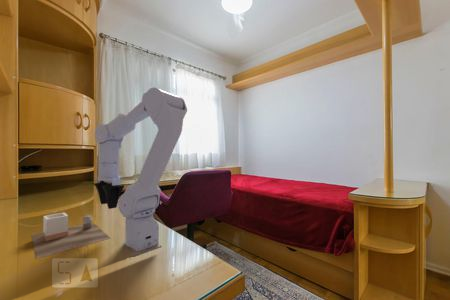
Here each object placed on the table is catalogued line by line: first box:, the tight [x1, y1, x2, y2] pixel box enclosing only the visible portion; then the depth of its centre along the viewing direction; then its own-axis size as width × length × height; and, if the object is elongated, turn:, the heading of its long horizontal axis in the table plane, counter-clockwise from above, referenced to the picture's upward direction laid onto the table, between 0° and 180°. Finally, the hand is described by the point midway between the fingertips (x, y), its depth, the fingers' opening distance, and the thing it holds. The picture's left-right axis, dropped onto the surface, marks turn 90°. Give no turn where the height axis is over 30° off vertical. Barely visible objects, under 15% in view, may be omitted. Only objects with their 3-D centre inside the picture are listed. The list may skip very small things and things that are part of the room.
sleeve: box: [42, 212, 69, 241], centre depth 60 cm, size 5×5×6 cm
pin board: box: [31, 214, 111, 260], centre depth 60 cm, size 20×16×5 cm
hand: (108, 205), depth 64 cm, fingers open, 7 cm apart
